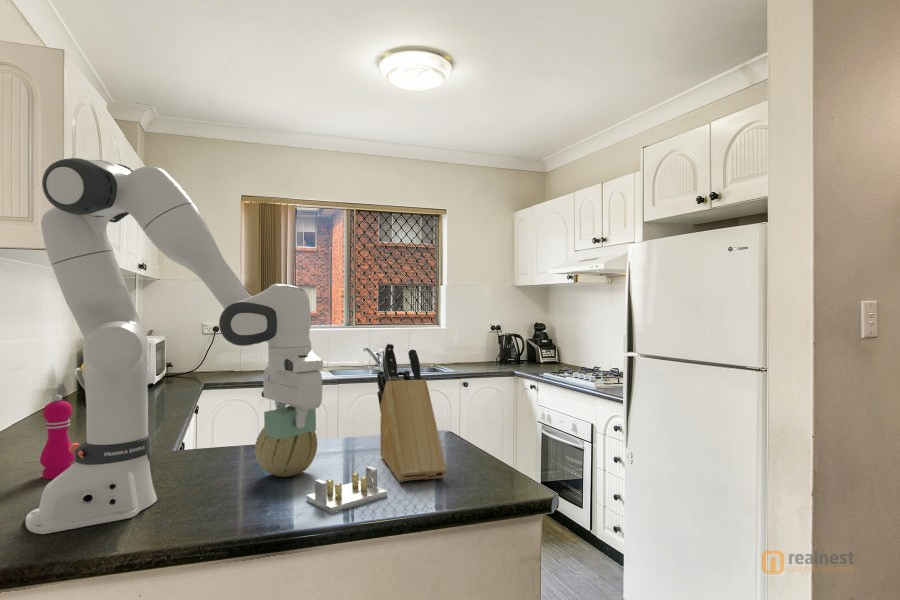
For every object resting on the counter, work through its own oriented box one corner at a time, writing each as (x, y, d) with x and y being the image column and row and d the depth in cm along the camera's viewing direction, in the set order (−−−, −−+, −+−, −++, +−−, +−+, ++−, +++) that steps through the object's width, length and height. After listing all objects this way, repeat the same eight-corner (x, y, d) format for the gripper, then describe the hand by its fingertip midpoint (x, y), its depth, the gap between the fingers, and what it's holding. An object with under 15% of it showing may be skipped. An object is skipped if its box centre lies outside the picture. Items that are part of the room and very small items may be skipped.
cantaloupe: (243, 476, 133) (243, 415, 133) (295, 462, 144) (294, 406, 144) (277, 489, 123) (277, 423, 123) (330, 473, 134) (329, 413, 134)
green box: (280, 439, 110) (279, 411, 110) (264, 435, 114) (264, 408, 114) (315, 430, 118) (315, 404, 118) (300, 426, 121) (299, 401, 121)
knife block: (412, 445, 161) (411, 340, 161) (447, 482, 127) (446, 351, 127) (374, 448, 157) (373, 342, 158) (400, 488, 124) (399, 352, 124)
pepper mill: (72, 468, 140) (72, 391, 140) (78, 475, 135) (78, 394, 135) (37, 475, 135) (37, 394, 135) (42, 482, 130) (42, 398, 130)
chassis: (330, 513, 109) (330, 487, 109) (306, 500, 116) (306, 476, 116) (387, 496, 119) (387, 472, 119) (361, 485, 126) (361, 462, 126)
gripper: (255, 357, 121) (256, 419, 121) (299, 365, 106) (300, 435, 106) (282, 355, 126) (283, 415, 126) (327, 362, 111) (328, 429, 111)
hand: (291, 424), depth 116 cm, fingers closed on green box, 6 cm apart
